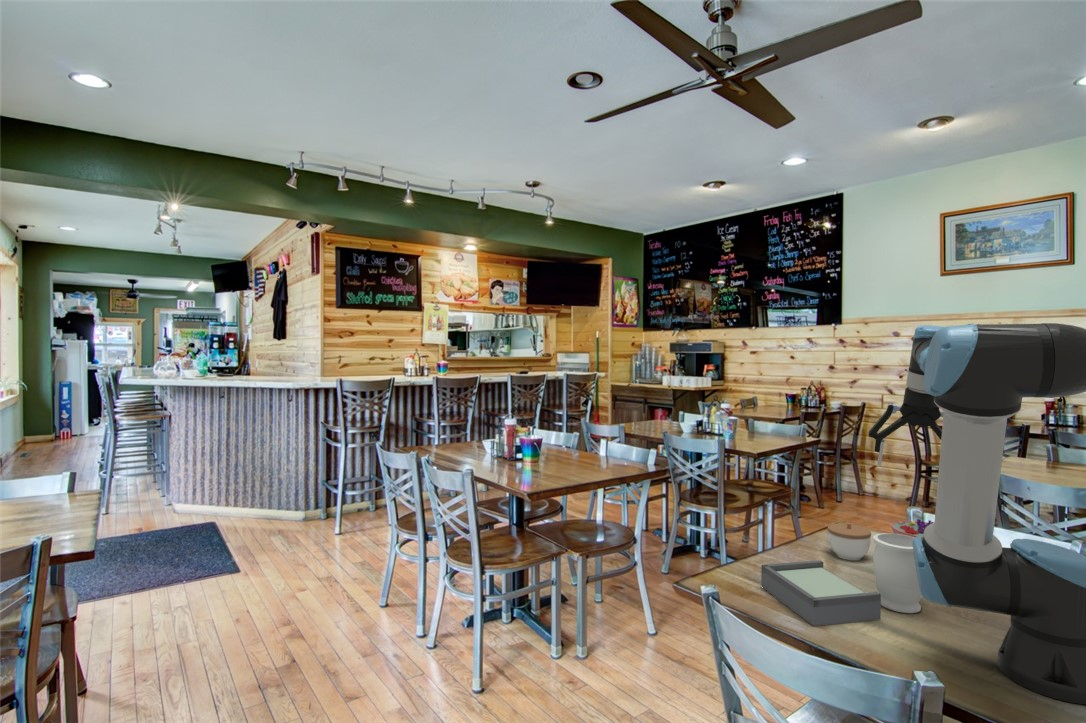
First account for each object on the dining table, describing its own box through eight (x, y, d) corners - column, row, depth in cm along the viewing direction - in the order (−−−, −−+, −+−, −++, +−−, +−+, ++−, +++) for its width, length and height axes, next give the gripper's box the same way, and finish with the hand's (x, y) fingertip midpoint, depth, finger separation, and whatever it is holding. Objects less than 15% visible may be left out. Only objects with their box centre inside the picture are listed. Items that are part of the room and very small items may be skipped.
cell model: (907, 544, 170) (907, 506, 169) (988, 565, 153) (988, 523, 153) (878, 556, 160) (878, 516, 160) (960, 580, 144) (961, 535, 143)
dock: (880, 619, 123) (880, 594, 123) (813, 626, 120) (813, 600, 120) (820, 581, 143) (820, 560, 143) (761, 587, 140) (761, 564, 140)
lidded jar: (821, 556, 160) (821, 523, 160) (836, 547, 168) (836, 515, 167) (862, 566, 152) (863, 532, 152) (876, 556, 160) (876, 523, 159)
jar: (935, 618, 123) (936, 549, 123) (882, 614, 126) (883, 546, 125) (914, 597, 134) (914, 533, 133) (865, 593, 136) (866, 531, 136)
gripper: (985, 393, 136) (969, 475, 141) (866, 378, 148) (855, 454, 154) (989, 401, 130) (972, 487, 135) (864, 385, 142) (853, 464, 147)
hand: (910, 470), depth 144 cm, fingers open, 13 cm apart
